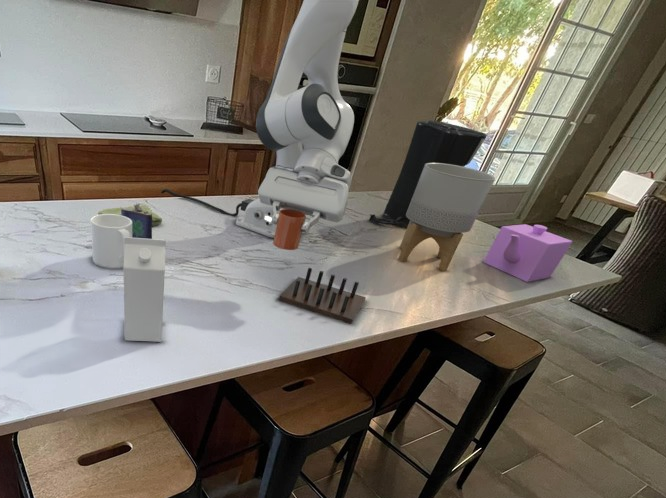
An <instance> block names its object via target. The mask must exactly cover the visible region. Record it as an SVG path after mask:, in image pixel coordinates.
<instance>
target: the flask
mask: <svg viewBox="0 0 666 498" xmlns="http://www.w3.org/2000/svg"><path fill="white" fill-rule="evenodd" d="M140 205H141V203H136V204H133V207H135V209H131V208H123V207H122V209H121V215H122V216H125V217H128V218H130V219H131V220H132V238H145V239H153V226H152V214H151V213H149V212H148V211H146V210H145V211H144V210H142V208H140V207H139V206H140Z"/></svg>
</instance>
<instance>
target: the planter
mask: <svg viewBox="0 0 666 498" xmlns="http://www.w3.org/2000/svg"><path fill="white" fill-rule="evenodd" d="M495 180H496V177H495V176H494V175H492V174H490V173H488V172H485V171H483V170H478V169H475V168H471V167H467V166H464V167H462V166H457V165H451V164H444V163H426V164H425V166H424V168H423V171H422V173H421V176H420V179H419V181H418V184H417V187H416V189H415V192H414V194H413V197H412V200H411V202H410V205H409V208H408V210H407V213H406V217H407V218H408V219H409V220H410V222H409V224H408V227H407V228H405V229H406V230H405V232H404V234H403V238H402V239H401V242H400V245H399V248H400V249H401V251H400V253H399V255H398V258H397V260H398V261H400V262H407V260H408V258H409V256H410V254H411V253H412V252H413V251H414V249H415V248H416V247H417V246H418V245H419V244H420V243H422V242H423V241H425V240H427V239H432V240H434V241H435V242H436V244H437V247H438V252H437V254H436V257H438V258H439V259H440V262H439V265H438V268H437V269H438V270H439V271H441V272H446V271H447V270H448V268H449V266H450V264H451V262H452V259H453V257H454V255H455V253H456V251H457V249H458V247H459V245H460V243H461V240H462V239H463V236H464V233H468V232H470V231H471V230H472V229H473V226H474V224H475V221H476V220H477V218H478V215H479V213H480V211H481V209H482V206H483V205H484V203H485V201H486V199H487V197H488V194H489V193H490V190H491V188H492V186H493V184H494V182H495Z"/></svg>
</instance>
